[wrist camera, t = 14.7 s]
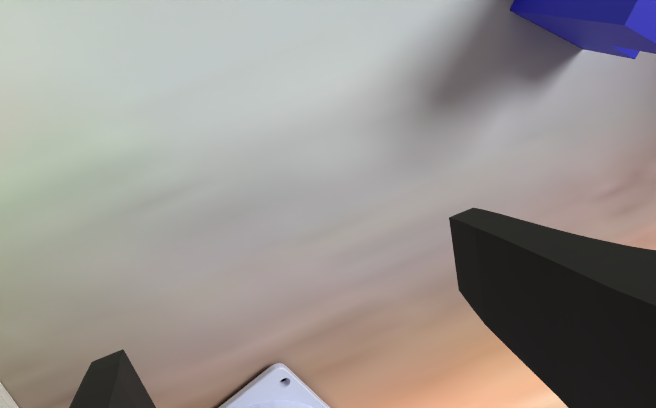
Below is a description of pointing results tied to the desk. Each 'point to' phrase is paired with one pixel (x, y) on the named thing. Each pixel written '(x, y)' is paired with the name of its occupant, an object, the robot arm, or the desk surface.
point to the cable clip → (596, 23)
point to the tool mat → (6, 399)
